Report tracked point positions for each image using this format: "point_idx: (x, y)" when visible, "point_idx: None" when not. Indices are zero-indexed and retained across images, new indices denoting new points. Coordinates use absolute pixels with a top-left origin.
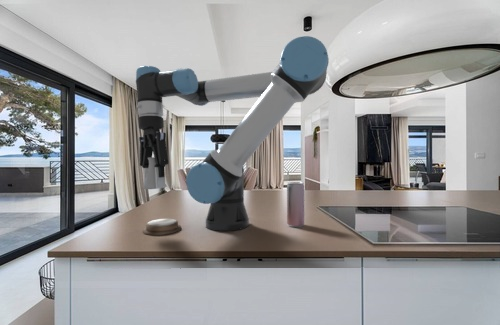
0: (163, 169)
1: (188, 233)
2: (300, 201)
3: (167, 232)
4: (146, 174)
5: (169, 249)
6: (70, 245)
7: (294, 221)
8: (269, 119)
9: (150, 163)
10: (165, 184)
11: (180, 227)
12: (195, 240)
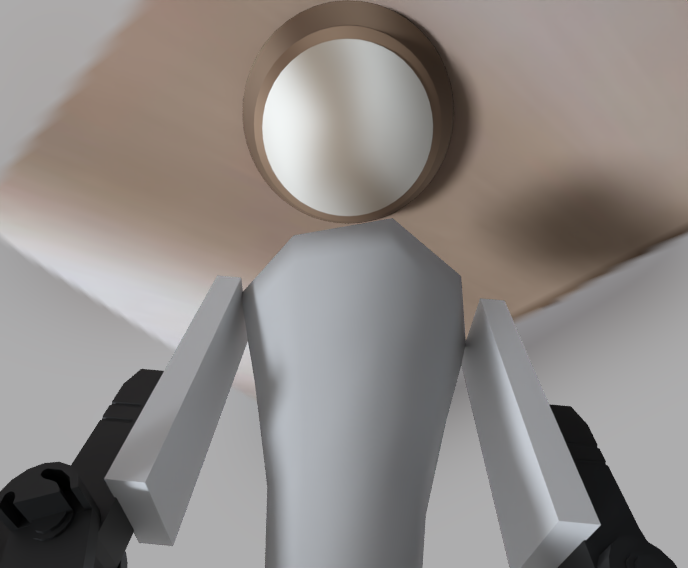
0: (621, 511)
1: (534, 67)
2: None
3: (443, 158)
4: (204, 442)
5: (602, 258)
6: None
7: None
8: None
9: None
10: (406, 251)
11: (427, 42)
12: (647, 126)
